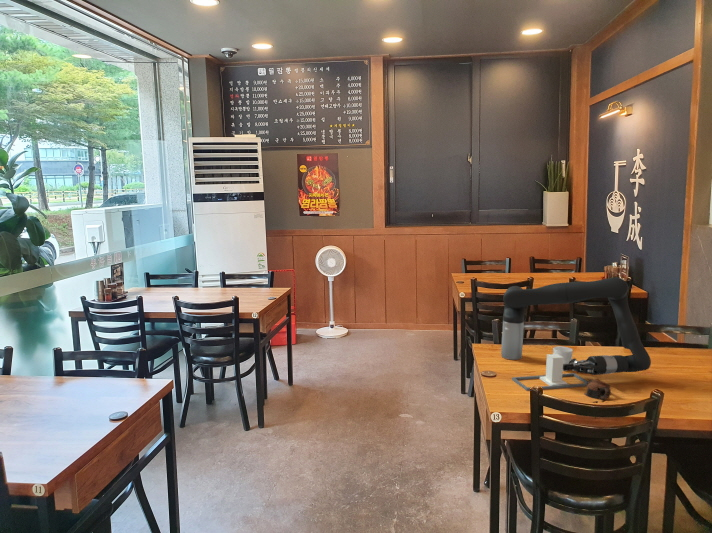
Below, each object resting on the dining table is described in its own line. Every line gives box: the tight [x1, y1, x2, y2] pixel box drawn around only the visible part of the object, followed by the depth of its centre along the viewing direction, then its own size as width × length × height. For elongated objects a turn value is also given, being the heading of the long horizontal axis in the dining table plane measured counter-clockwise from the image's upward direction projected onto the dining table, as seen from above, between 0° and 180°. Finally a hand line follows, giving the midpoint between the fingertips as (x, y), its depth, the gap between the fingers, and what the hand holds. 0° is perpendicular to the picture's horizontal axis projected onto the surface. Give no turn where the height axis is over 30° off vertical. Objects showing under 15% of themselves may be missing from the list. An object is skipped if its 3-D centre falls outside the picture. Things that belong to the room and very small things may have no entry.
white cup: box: [552, 346, 574, 372], centre depth 229 cm, size 8×8×10 cm
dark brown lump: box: [583, 378, 612, 404], centre depth 199 cm, size 12×10×8 cm
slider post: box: [539, 353, 569, 386], centre depth 211 cm, size 9×7×11 cm
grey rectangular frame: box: [511, 372, 590, 392], centre depth 212 cm, size 12×28×2 cm, turn 101°
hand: (563, 367), depth 212 cm, fingers closed
